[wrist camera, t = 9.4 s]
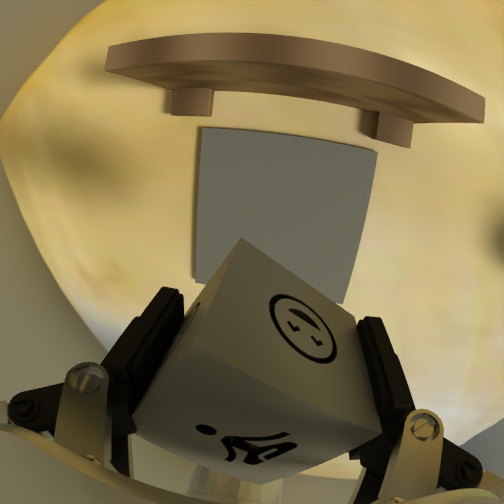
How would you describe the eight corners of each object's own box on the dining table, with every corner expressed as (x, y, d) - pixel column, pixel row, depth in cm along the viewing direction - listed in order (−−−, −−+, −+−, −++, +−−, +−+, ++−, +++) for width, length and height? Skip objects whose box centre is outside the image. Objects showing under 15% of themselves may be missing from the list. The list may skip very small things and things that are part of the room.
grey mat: (341, 301, 26) (342, 303, 25) (196, 279, 27) (195, 282, 26) (375, 151, 20) (377, 152, 20) (204, 127, 21) (202, 127, 21)
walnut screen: (416, 83, 17) (484, 62, 8) (409, 148, 19) (479, 162, 10) (179, 51, 18) (116, 13, 9) (171, 115, 21) (100, 110, 12)
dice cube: (272, 385, 12) (260, 485, 7) (174, 329, 11) (122, 426, 6) (354, 316, 10) (382, 433, 5) (241, 237, 9) (193, 342, 4)
